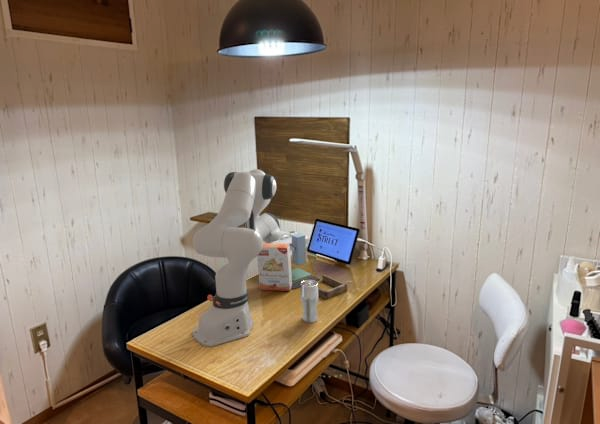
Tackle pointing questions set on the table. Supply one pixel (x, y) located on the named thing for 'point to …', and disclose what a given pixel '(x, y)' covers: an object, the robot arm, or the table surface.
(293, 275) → the green felt pad
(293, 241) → the slate block
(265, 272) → the cracker box
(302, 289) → the beer glass
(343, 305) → the table surface
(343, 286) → the dark wooden tray
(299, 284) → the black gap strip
